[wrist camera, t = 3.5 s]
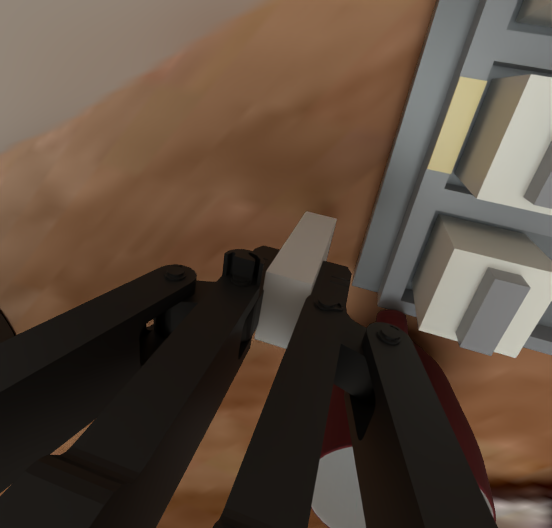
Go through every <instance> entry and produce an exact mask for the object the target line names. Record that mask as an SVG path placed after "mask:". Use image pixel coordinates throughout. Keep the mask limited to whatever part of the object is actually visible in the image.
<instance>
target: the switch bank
mask: <svg viewBox="0 0 552 528" xmlns="http://www.w3.org/2000/svg"><path fill="white" fill-rule="evenodd" d="M523 1H524V0H436V3H435V7H434V10H433V13H432V17H431V20H430V23H429V26H428V30H427V33H426V36H425V40H424V43H423V46H422V50H421V53H420V56H419V59H418V63H417V66H416V69H415V73H414V76H413V79H412V82H411V86H410V89H409V92H408V96H407V99H406V102H405V105H404V109H403V112H402V115H401V119H400V122H399V125H398V128H397V132H396V135H395V138H394V142H393V145H392V148H391V152H390V155H389V158H388V161H387V165H386V168H385V171H384V175H383V178H382V181H381V184H380V188H379V191H378V194H377V198H376V201H375V204H374V207H373V211H372V214H371V217H370V221H369V224H368V227H367V230H366V234H365V237H364V240H363V244H362V247H361V250H360V254H359V257H358V260H357V263H356V267H355V270H354V276H353V282H352V286H356V287H360V288H363V289H367V290H370V291H374V292H378V303H377V306H379V307H382V308H386V309H389V310H390V309H392V310H398V311H400V312H403V313H404V314H407V315H411V316H414V317H417V316H416V309H415V302H414V295H413V288H412V280H413V278H414V275H415V273H416V270H417V268H418V265H419V263H420V260H421V258H422V255H423V253H424V250H425V248H426V245H427V243H428V240H429V238H430V235H431V233H432V230H433V228H434V225H435V223H436V220H437V217H438V215H439V214H441V215H445V216H450V217H454V218H458V219H463V220H467V221H471V222H475V223H480V224H484V225H488V226H493V227H497V228H501V229H505V230H510V231H514V232H518V233H523V234H525V235H526V236H527V237H528V238H529V239H530V240H531V241H532V242H533V243H534V244H535V245H536V246H537V247H538V248H539V249H540V250H541V251H542V252H543V253H544V254H545V255H546V256H547V257H548V258H549V259H550V260H551V261H552V215H547V214H543V213H538V212H534V211H529V210H525V209H520V208H516V207H511V206H507V205H502V204H498V203H493V202H489V201H484V200H480V199H476V198H475V197H474V195H473V194H472V193H471V192H470V191H469V190H468V189H467V187H466V186H465V185H464V184H463V183H462V182H461V181H460V179H459V178H458V177H457V176H456V175H455V172H456V170H457V167H458V165H459V162H460V160H461V157H462V155H463V152H464V149H465V147H466V144H467V142H468V139H469V137H470V134H471V132H472V129H473V127H474V124H475V122H476V119H477V117H478V114H479V112H480V109H481V107H482V104H483V102H484V99H485V97H486V94H487V92H488V89H489V87H490V84H491V82H492V79H497V78H505V77H512V76H520V75H528V74H533V75H539V76H545V77H552V27H546V26H539V25H532V24H525V23H518V22H515V21H516V19H517V16H518V14H519V11H520V8H521V6H522V3H523ZM523 347H524V348H528V349H531V350H535V351H539V352H542V353H546V354H549V355H552V301H551V303H550V304H549V306H548V308H547V309H546V311H545V312H544V314H543V315H542V317H541V319H540V320H539V322H538V323H537V325H536V327H535V328H534V330H533V331H532V333H531V335H530V336H529V338H528V339H527V341H526V343H525V344H524V346H523Z"/></svg>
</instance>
